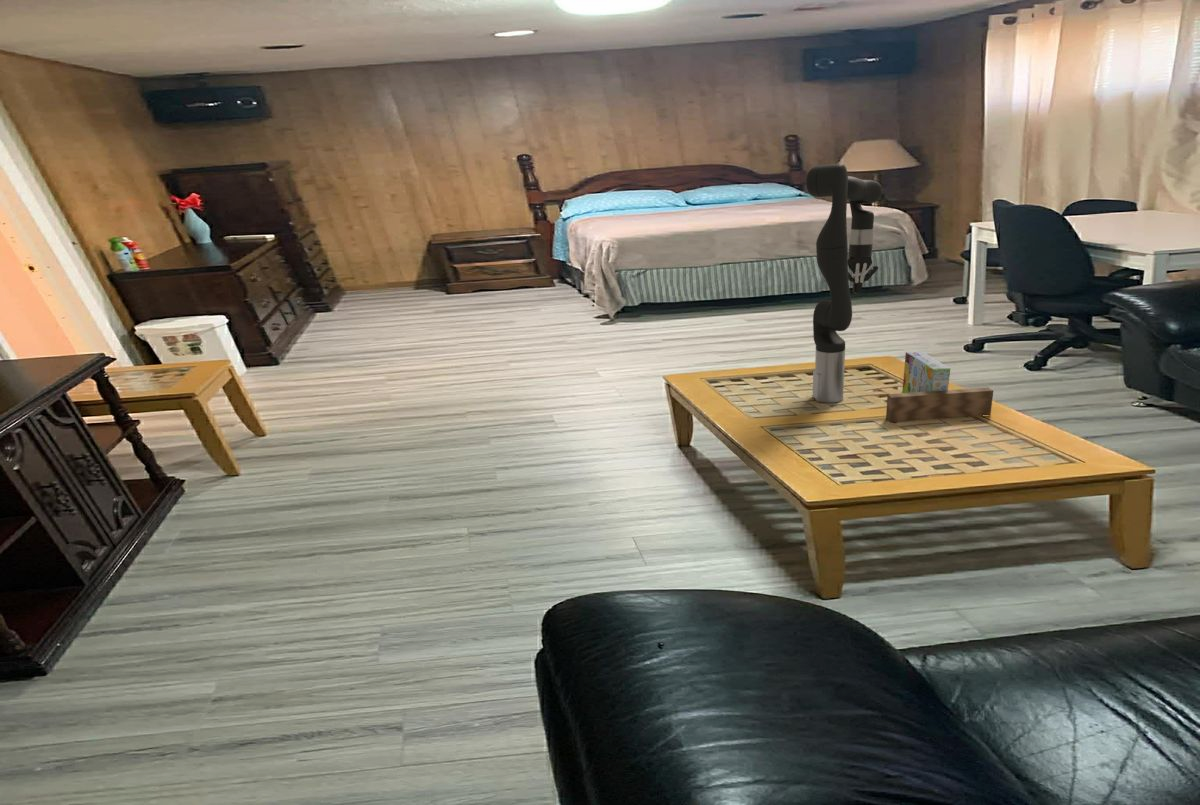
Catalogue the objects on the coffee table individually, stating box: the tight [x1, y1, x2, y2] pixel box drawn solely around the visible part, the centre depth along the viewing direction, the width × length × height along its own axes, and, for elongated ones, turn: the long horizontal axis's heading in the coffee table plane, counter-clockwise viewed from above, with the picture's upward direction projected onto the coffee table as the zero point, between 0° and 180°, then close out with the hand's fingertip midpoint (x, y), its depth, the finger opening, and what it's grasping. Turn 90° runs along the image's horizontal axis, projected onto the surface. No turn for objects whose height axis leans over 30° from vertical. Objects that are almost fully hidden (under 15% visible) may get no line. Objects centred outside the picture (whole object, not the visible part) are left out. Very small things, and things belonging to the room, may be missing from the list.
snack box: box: [901, 350, 951, 393], centre depth 217 cm, size 21×6×15 cm, turn 0°
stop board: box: [885, 386, 994, 423], centre depth 207 cm, size 30×3×8 cm, turn 90°
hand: (857, 293), depth 239 cm, fingers closed
